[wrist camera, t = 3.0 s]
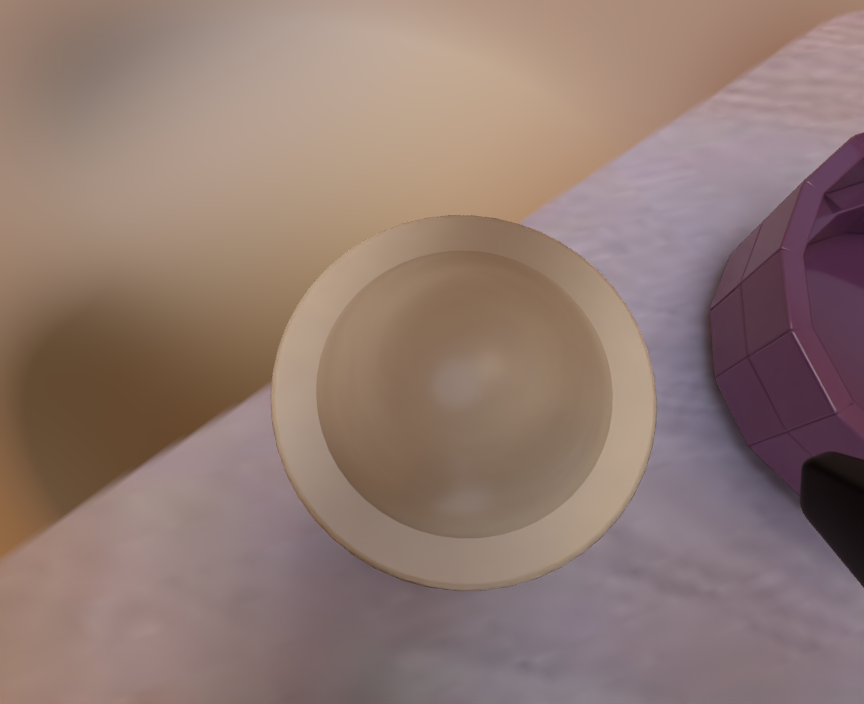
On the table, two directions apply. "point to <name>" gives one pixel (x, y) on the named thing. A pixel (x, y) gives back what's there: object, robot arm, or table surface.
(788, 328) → the bowl
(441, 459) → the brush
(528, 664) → the table surface
